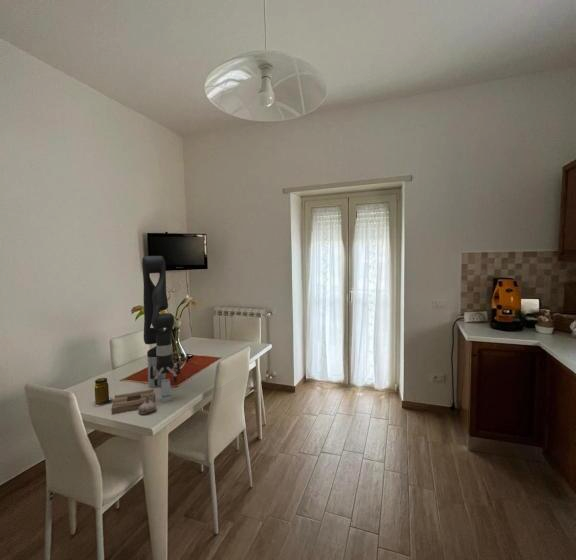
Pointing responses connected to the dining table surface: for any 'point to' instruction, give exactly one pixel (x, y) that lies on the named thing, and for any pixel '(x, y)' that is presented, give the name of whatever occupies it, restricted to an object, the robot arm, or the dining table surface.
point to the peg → (166, 390)
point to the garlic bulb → (147, 406)
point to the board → (131, 401)
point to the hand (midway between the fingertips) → (165, 384)
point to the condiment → (102, 392)
